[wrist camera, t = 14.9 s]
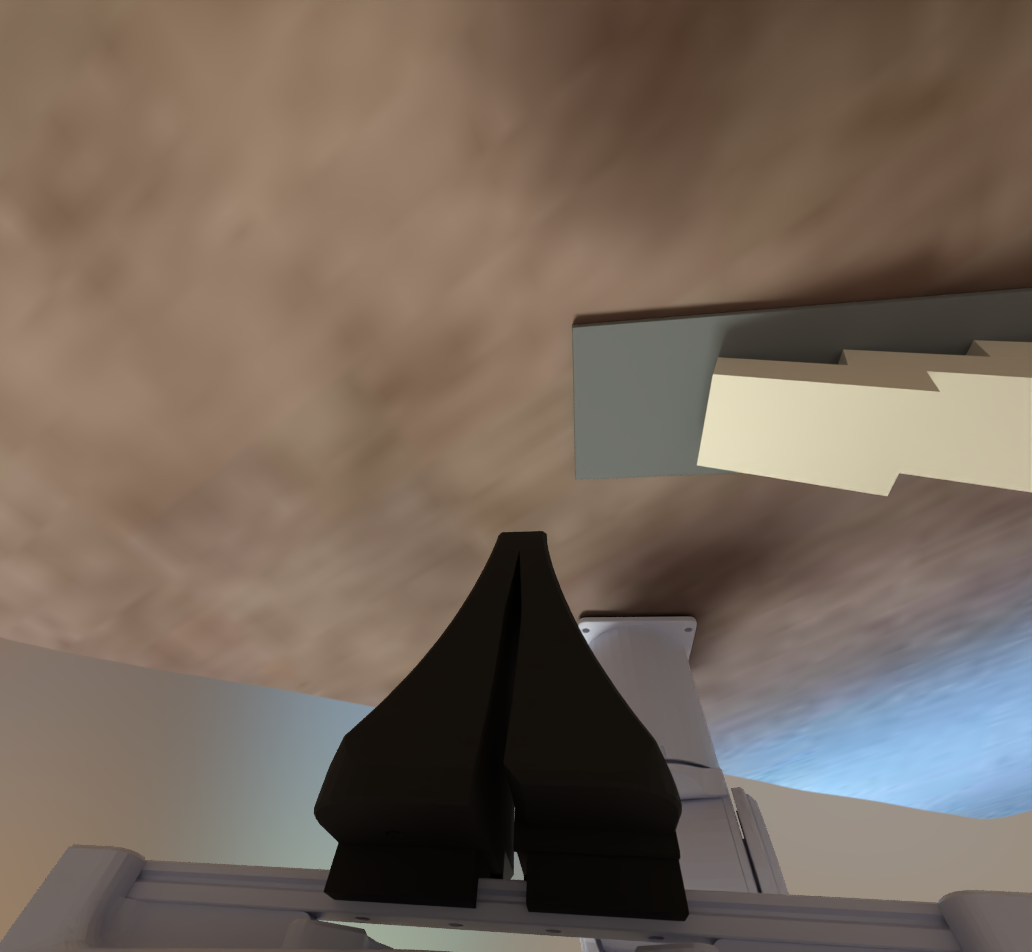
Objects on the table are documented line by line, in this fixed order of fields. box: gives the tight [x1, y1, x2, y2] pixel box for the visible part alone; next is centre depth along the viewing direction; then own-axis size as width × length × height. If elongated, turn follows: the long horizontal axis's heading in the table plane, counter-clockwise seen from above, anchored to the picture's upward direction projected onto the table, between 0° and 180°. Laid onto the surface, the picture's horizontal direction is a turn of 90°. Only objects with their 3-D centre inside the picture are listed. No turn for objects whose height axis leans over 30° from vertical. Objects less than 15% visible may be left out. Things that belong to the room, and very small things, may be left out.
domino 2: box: [838, 349, 1032, 492], centre depth 17 cm, size 4×2×7 cm
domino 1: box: [697, 357, 940, 496], centre depth 17 cm, size 4×2×7 cm
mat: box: [572, 288, 1032, 480], centre depth 19 cm, size 8×30×1 cm, turn 95°
